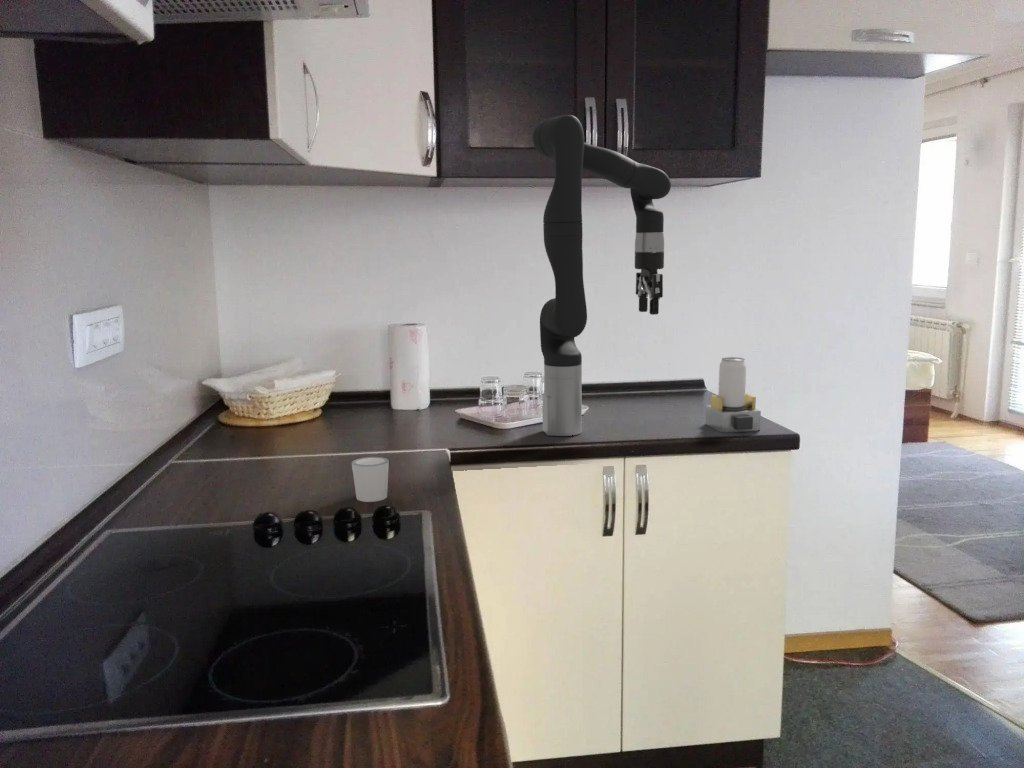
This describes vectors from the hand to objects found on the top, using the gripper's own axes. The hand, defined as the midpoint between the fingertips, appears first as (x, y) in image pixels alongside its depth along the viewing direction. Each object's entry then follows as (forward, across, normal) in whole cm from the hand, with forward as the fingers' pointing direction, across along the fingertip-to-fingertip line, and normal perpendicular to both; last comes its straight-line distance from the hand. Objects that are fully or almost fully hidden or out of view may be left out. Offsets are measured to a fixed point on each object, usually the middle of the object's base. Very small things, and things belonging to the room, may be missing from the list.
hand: (648, 313), depth 211 cm
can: (+23, +16, +17) cm, 32 cm away
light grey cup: (+28, +55, -73) cm, 96 cm away
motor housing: (+28, +16, +17) cm, 37 cm away
